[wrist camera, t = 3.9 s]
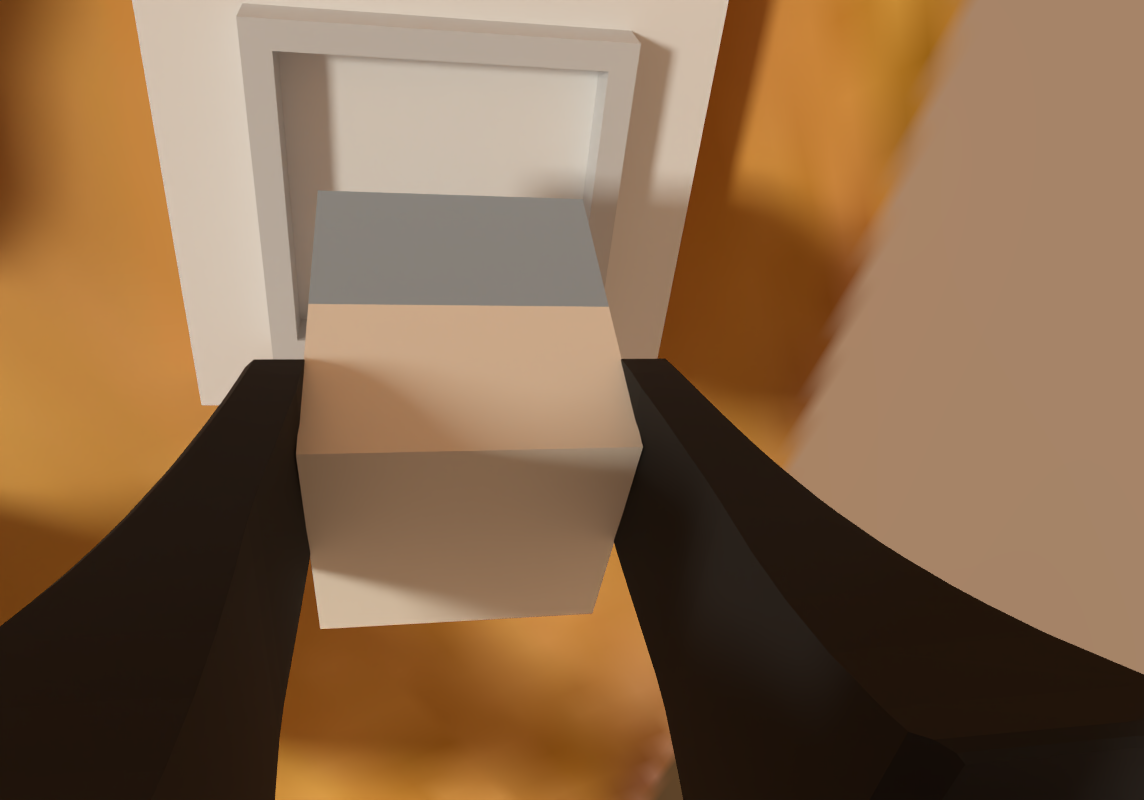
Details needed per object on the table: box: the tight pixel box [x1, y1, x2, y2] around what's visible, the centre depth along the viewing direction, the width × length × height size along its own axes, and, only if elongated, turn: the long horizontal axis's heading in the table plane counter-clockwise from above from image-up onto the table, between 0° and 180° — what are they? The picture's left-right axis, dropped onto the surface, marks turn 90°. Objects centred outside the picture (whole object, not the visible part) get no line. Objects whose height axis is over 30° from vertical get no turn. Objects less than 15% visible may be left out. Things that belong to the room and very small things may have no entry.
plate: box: [132, 0, 729, 405], centre depth 18 cm, size 10×10×2 cm
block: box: [296, 190, 643, 629], centre depth 14 cm, size 4×4×5 cm
